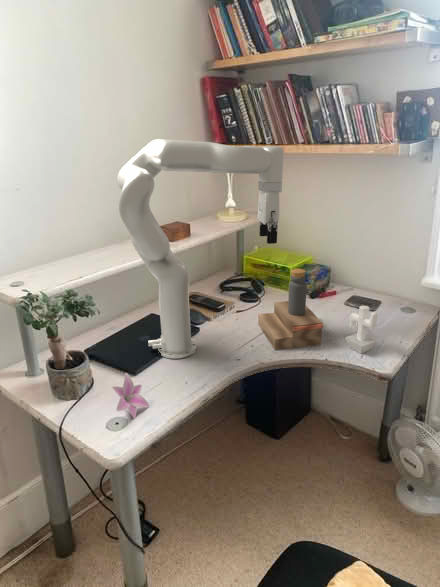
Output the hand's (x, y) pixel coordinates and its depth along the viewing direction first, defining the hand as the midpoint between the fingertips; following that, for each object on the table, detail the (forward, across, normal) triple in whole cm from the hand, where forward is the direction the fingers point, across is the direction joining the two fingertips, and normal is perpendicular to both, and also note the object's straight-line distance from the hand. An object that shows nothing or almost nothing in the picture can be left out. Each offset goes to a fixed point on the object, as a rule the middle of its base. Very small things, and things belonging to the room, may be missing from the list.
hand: (267, 239), depth 151 cm
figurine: (+32, +20, +27) cm, 47 cm away
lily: (+35, +39, -46) cm, 70 cm away
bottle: (+25, +5, +10) cm, 27 cm away
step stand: (+33, +5, +7) cm, 34 cm away
